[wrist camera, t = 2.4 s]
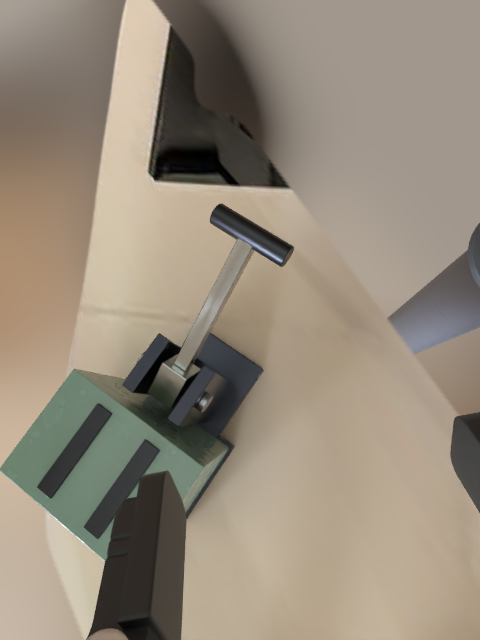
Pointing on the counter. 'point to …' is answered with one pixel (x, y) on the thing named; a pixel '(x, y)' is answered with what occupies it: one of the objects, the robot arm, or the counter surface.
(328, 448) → the counter surface
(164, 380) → the lever
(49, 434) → the toaster
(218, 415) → the lever bracket
